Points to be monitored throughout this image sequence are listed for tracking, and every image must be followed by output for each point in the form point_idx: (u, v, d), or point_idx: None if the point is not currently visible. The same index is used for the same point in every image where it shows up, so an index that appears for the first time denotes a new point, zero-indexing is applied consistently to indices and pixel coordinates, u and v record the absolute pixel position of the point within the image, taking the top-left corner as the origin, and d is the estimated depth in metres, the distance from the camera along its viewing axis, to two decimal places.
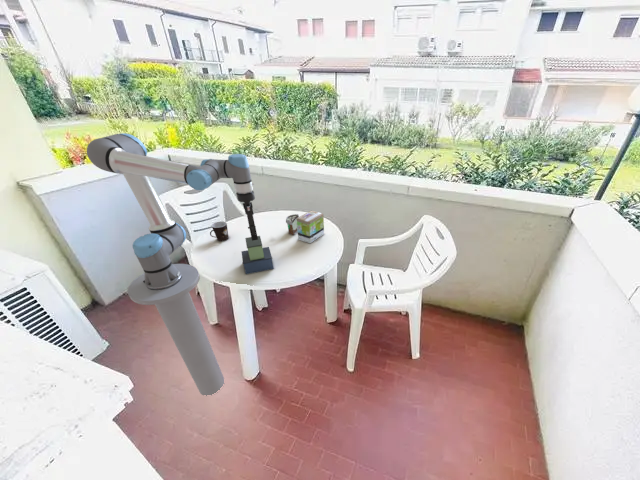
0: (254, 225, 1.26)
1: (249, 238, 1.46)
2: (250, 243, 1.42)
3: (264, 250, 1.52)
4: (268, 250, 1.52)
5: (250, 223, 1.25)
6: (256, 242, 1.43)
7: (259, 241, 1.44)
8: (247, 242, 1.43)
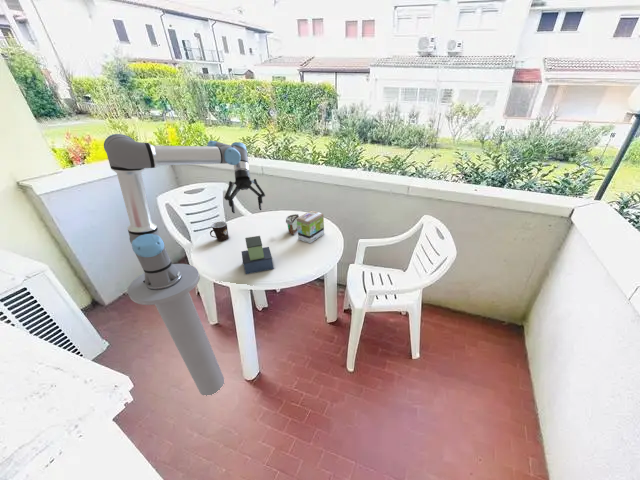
0: None
1: (249, 238, 1.46)
2: (250, 243, 1.42)
3: (264, 250, 1.52)
4: (268, 250, 1.52)
5: (262, 191, 1.49)
6: (256, 242, 1.43)
7: (259, 241, 1.44)
8: (247, 242, 1.43)
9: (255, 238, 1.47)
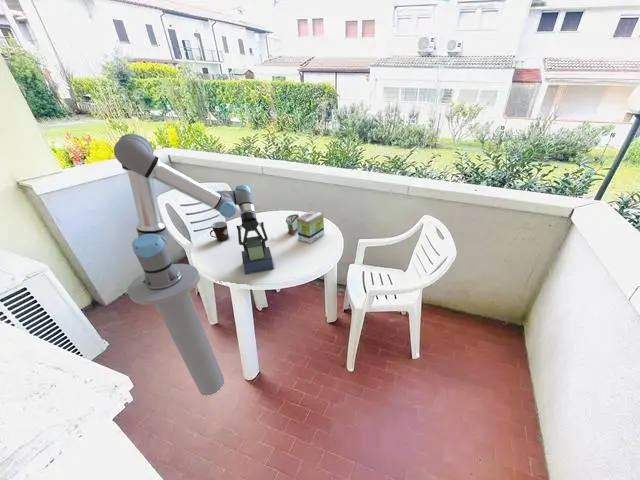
0: (267, 238, 1.49)
1: (249, 238, 1.46)
2: (250, 243, 1.42)
3: (264, 250, 1.52)
4: (268, 250, 1.52)
5: (266, 235, 1.48)
6: (256, 242, 1.43)
7: (259, 241, 1.44)
8: (247, 242, 1.43)
9: (255, 238, 1.47)
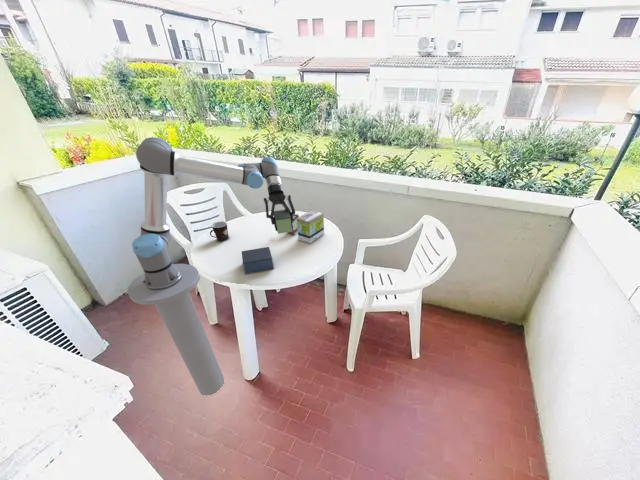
0: (294, 212, 1.45)
1: (276, 211, 1.42)
2: (278, 215, 1.38)
3: (264, 250, 1.52)
4: (268, 250, 1.52)
5: None
6: (284, 215, 1.39)
7: (287, 214, 1.40)
8: (275, 215, 1.39)
9: (282, 211, 1.43)
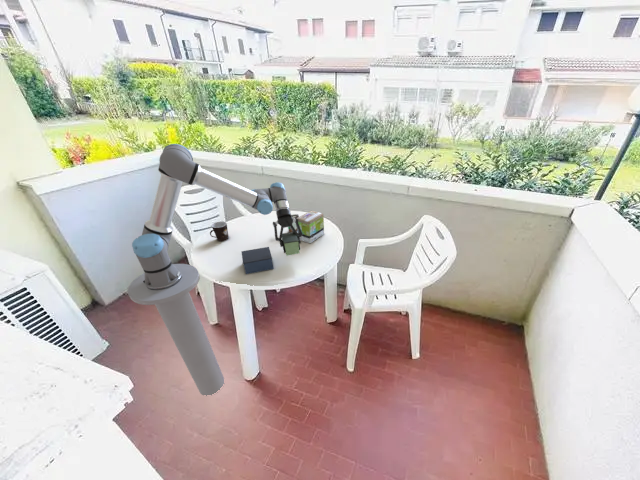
0: None
1: (284, 234, 1.50)
2: (286, 239, 1.46)
3: (264, 250, 1.52)
4: (268, 250, 1.52)
5: None
6: (292, 238, 1.47)
7: (295, 237, 1.48)
8: (283, 238, 1.47)
9: (290, 234, 1.51)
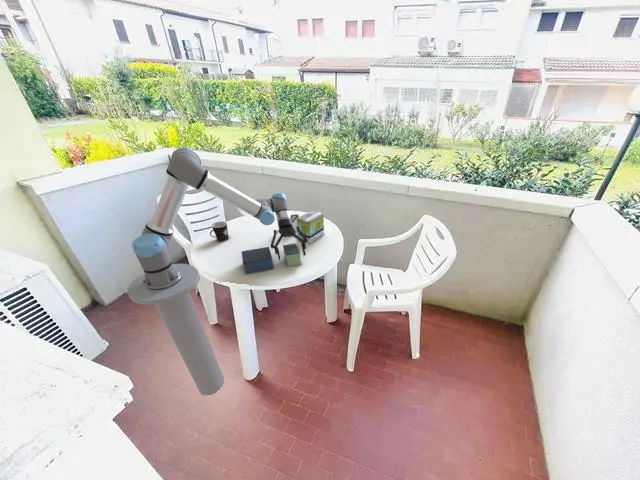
0: None
1: (286, 245, 1.54)
2: (288, 250, 1.50)
3: (264, 250, 1.52)
4: (268, 250, 1.52)
5: None
6: (294, 249, 1.51)
7: (296, 248, 1.52)
8: (285, 250, 1.51)
9: (292, 245, 1.55)
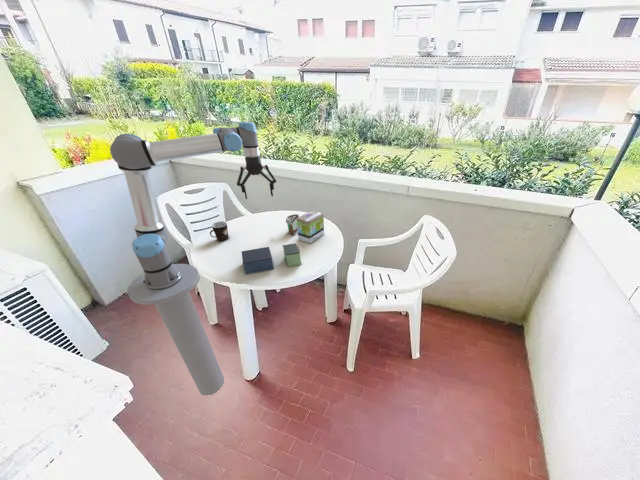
0: None
1: (286, 245, 1.54)
2: (288, 250, 1.50)
3: (264, 250, 1.52)
4: (268, 250, 1.52)
5: None
6: (294, 249, 1.51)
7: (296, 248, 1.52)
8: (285, 250, 1.51)
9: (292, 245, 1.55)
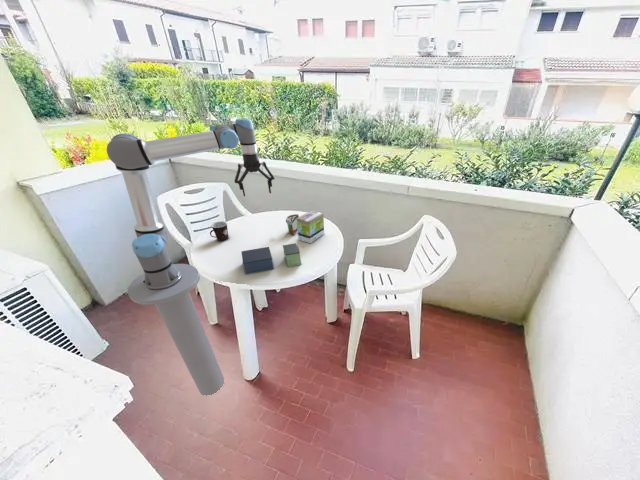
0: None
1: (286, 245, 1.54)
2: (288, 250, 1.50)
3: (264, 250, 1.52)
4: (268, 250, 1.52)
5: None
6: (294, 249, 1.51)
7: (296, 248, 1.52)
8: (285, 250, 1.51)
9: (292, 245, 1.55)
